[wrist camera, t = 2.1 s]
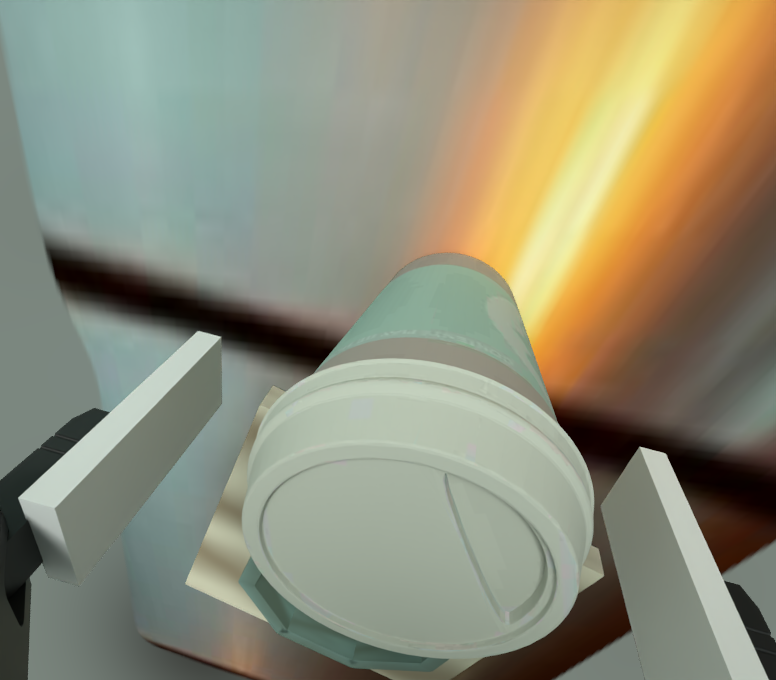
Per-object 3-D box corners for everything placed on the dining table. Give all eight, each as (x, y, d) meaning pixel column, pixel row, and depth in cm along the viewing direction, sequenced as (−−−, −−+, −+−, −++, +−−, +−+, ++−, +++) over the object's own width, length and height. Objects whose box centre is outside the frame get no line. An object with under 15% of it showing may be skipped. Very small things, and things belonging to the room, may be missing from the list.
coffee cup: (509, 414, 22) (519, 706, 12) (339, 364, 23) (216, 606, 13) (587, 251, 18) (704, 506, 8) (372, 192, 18) (217, 360, 8)
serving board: (273, 385, 24) (243, 429, 22) (598, 549, 26) (611, 610, 23) (196, 563, 35) (170, 608, 32) (429, 672, 37) (423, 724, 34)
